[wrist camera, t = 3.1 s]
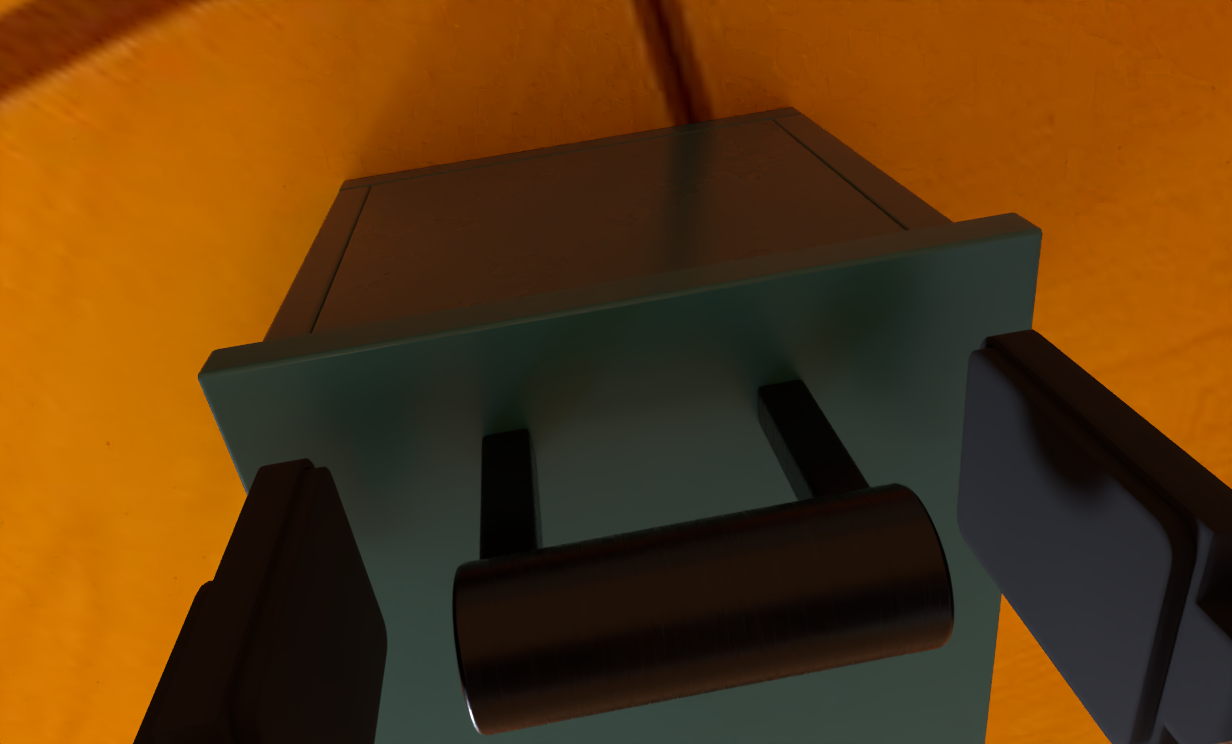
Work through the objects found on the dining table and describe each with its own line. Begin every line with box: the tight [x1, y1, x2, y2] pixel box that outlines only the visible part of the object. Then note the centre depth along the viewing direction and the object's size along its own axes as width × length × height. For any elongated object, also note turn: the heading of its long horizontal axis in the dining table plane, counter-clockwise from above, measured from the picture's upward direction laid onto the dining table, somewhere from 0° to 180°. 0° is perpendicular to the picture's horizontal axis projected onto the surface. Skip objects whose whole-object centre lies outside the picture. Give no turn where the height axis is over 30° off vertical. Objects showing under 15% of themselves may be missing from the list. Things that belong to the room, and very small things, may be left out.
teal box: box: [263, 107, 954, 341], centre depth 21 cm, size 14×12×11 cm
